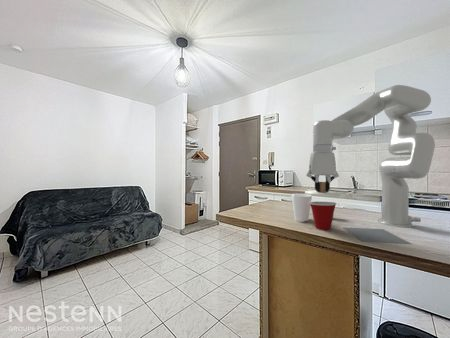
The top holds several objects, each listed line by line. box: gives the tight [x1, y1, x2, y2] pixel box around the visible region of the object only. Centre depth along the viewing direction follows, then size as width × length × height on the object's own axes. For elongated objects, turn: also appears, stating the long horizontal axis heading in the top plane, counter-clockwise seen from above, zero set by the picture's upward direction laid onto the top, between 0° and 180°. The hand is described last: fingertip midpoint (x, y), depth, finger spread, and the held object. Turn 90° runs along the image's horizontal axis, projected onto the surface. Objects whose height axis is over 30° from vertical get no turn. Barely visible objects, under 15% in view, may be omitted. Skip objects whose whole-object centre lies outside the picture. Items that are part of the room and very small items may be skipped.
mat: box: [342, 226, 412, 245], centre depth 77 cm, size 16×16×1 cm
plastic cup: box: [309, 201, 338, 231], centre depth 85 cm, size 11×11×12 cm
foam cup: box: [291, 193, 313, 223], centre depth 99 cm, size 10×9×13 cm
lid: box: [304, 181, 342, 198], centre depth 85 cm, size 14×14×5 cm
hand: (322, 191), depth 85 cm, fingers closed on lid, 3 cm apart
